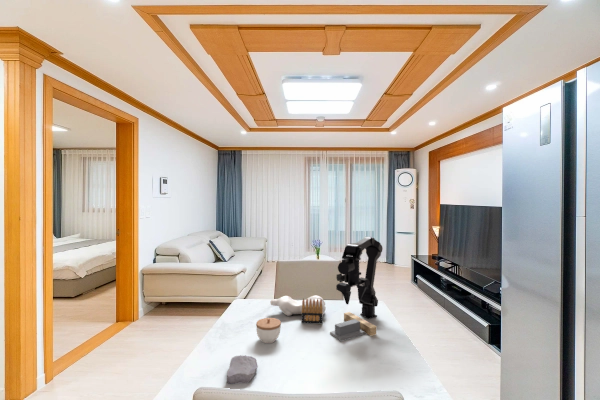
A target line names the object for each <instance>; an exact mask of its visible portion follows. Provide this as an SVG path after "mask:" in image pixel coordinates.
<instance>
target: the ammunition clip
mask: <svg viewBox="0 0 600 400" xmlns="http://www.w3.org/2000/svg"><path fill="white" fill-rule="evenodd" d="M302 300H303V301H302ZM302 300H301V301H302V314H301V320H300V321H301V324H321V325H323V324H324V323H323V321H324V320H323V315H324V314H323V308H322V300H320V307H319V302H318V299H317V302H316V307H315V299H314V300H313V307H312V301H311V299H310V302H309V307H308V298H306V299H304V298H302ZM304 300H306V307H305V301H304Z"/></svg>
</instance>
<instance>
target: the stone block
mask: <svg viewBox="0 0 600 400" xmlns="http://www.w3.org/2000/svg"><path fill="white" fill-rule="evenodd" d="M228 367H229V368H228V370H227V373H226V381H227V383H228V384H229V385H231V384H232V385H233V384H241V383H242V384H248V383H249V382H250V381H251V380H252V379H253V377H254V375H255V373H256V371H257V370H258V367H259V365H258V362H257V358H256V357H253V356H249V355H243V354H242V355H235V356H233V357H231V359H230V362H229V366H228Z"/></svg>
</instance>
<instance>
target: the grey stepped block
mask: <svg viewBox="0 0 600 400" xmlns="http://www.w3.org/2000/svg"><path fill="white" fill-rule="evenodd" d="M365 334H366V333H365V331H363V330H361V329H360V321H358V320H356V319H354V320H350V321H343V322H338V323H335V324H334V330H331V331H330V332H329V335H332V336H333V337H334V338H336V339H337V340H338V341H340V342H343V341H346V340H349V339H353V338H356V337H359V336H362V335H365Z"/></svg>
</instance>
